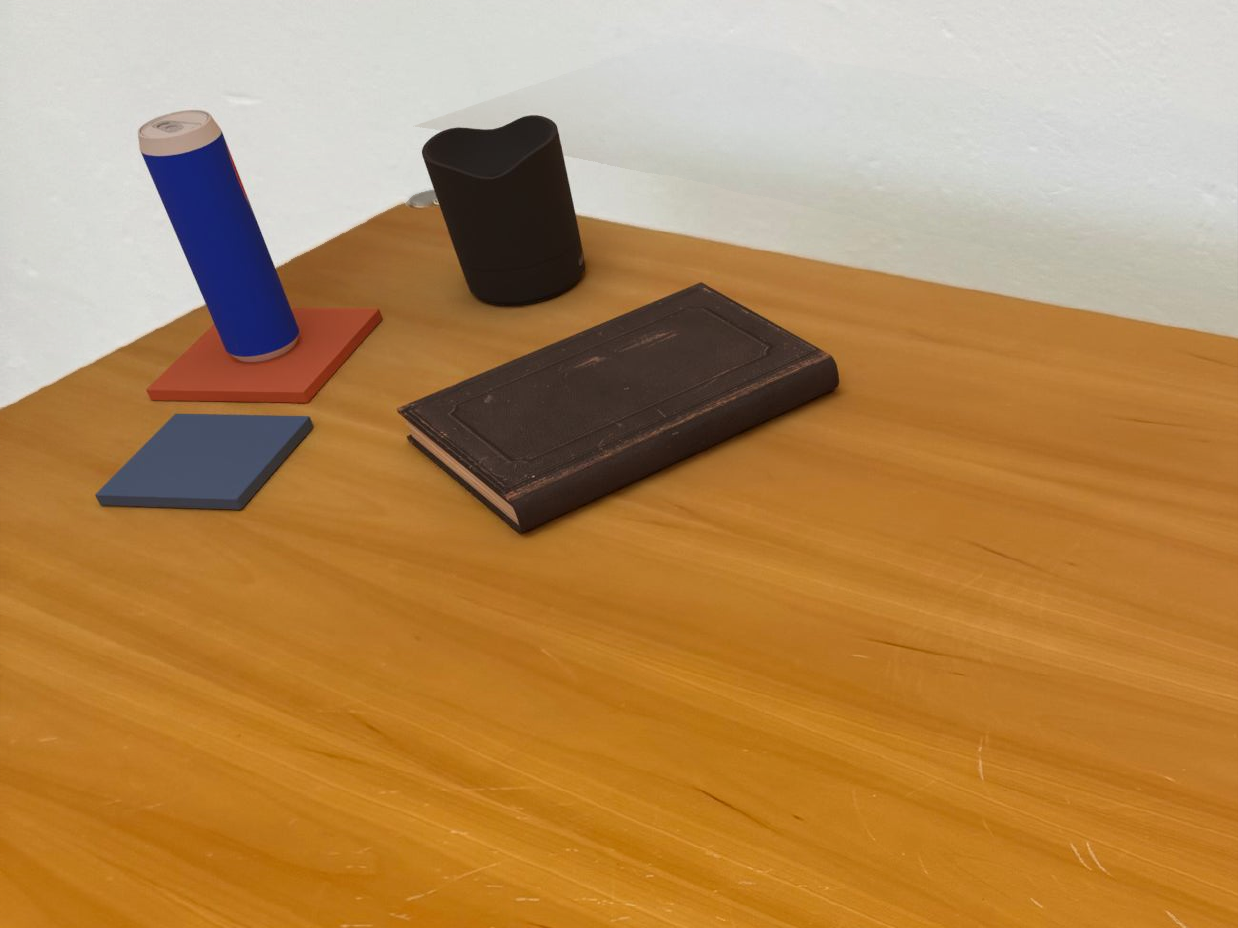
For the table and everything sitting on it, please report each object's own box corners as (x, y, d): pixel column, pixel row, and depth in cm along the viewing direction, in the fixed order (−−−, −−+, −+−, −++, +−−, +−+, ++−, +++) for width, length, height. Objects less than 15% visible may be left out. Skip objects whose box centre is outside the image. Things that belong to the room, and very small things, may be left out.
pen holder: (536, 319, 114) (496, 174, 107) (438, 299, 118) (393, 158, 111) (617, 262, 120) (584, 121, 113) (521, 245, 124) (483, 107, 116)
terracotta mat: (150, 400, 111) (145, 389, 111) (235, 318, 119) (230, 307, 119) (307, 403, 109) (303, 392, 108) (382, 318, 117) (379, 308, 116)
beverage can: (317, 337, 114) (232, 113, 103) (262, 371, 111) (168, 144, 100) (268, 324, 116) (180, 104, 105) (213, 357, 113) (115, 134, 102)
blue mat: (99, 505, 102) (93, 494, 101) (180, 423, 109) (175, 413, 108) (241, 510, 100) (236, 499, 99) (314, 426, 106) (309, 415, 106)
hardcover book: (408, 440, 104) (396, 408, 102) (707, 313, 112) (701, 281, 111) (524, 538, 95) (513, 503, 93) (841, 391, 103) (836, 357, 101)
